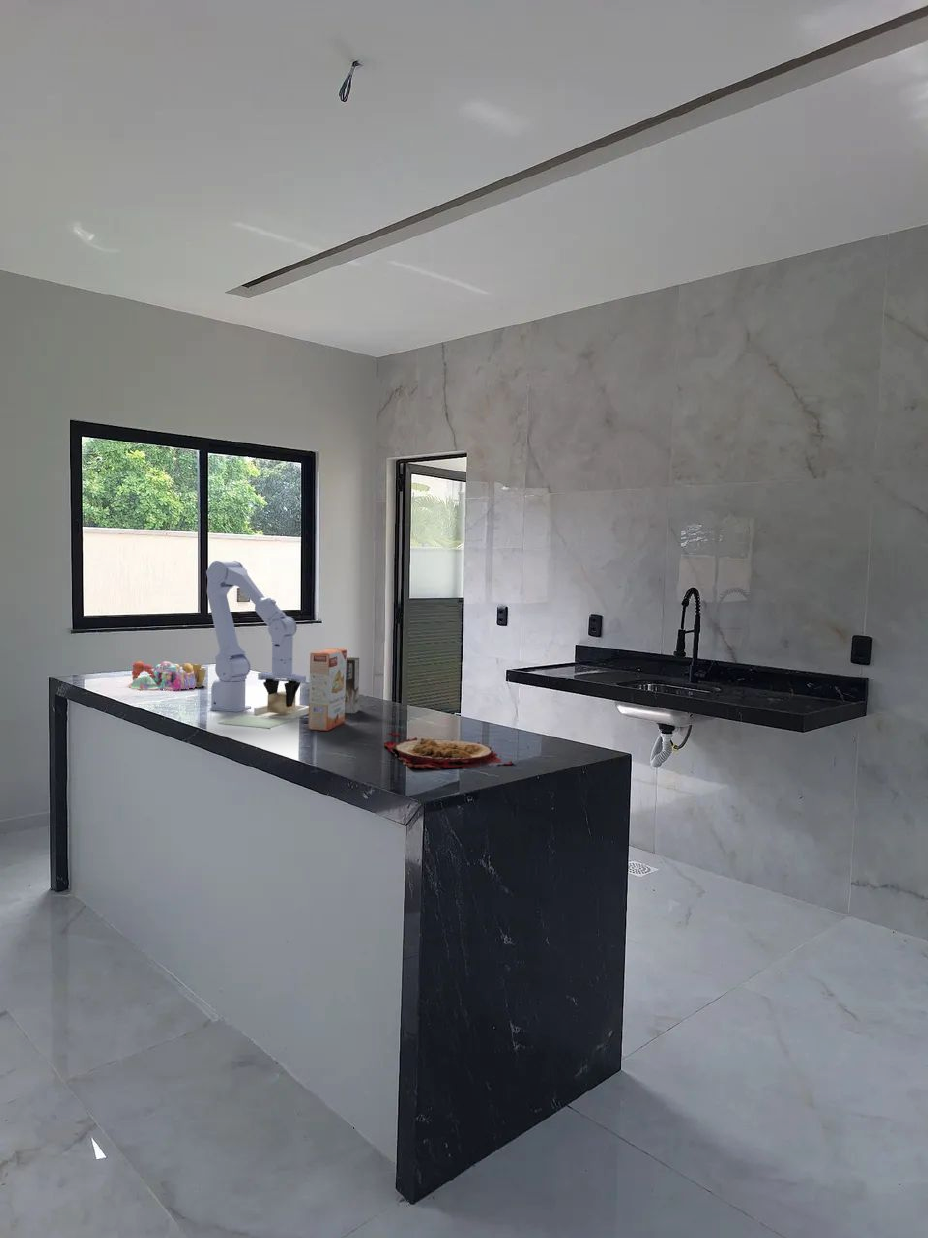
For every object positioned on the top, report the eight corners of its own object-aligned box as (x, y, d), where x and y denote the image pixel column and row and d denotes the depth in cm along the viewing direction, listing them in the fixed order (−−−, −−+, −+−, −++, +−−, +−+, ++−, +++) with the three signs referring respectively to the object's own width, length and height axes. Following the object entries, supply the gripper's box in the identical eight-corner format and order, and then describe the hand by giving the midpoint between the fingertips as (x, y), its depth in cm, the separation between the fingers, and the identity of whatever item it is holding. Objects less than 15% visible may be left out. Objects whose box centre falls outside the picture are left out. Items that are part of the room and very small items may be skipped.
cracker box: (328, 732, 231) (330, 653, 230) (307, 730, 232) (308, 652, 231) (346, 722, 245) (347, 648, 244) (326, 721, 246) (327, 647, 245)
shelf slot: (253, 715, 252) (253, 708, 252) (272, 709, 262) (272, 703, 262) (293, 719, 248) (293, 712, 248) (312, 713, 258) (312, 706, 258)
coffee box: (359, 710, 265) (360, 657, 264) (354, 714, 259) (355, 659, 258) (329, 709, 266) (330, 656, 265) (324, 712, 260) (325, 658, 259)
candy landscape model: (189, 680, 320) (189, 655, 319) (216, 689, 302) (217, 662, 301) (119, 685, 304) (119, 659, 303) (144, 694, 286) (144, 666, 285)
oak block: (267, 712, 251) (267, 695, 251) (281, 708, 259) (281, 691, 259) (281, 713, 250) (281, 696, 250) (295, 709, 257) (295, 692, 257)
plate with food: (411, 775, 191) (412, 759, 191) (381, 746, 216) (382, 732, 216) (515, 770, 199) (516, 755, 199) (475, 743, 224) (475, 730, 224)
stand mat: (217, 724, 238) (217, 722, 238) (242, 716, 249) (242, 715, 249) (269, 729, 233) (269, 728, 233) (292, 721, 244) (292, 720, 244)
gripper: (252, 659, 252) (252, 705, 253) (297, 662, 247) (296, 710, 248) (265, 656, 259) (265, 702, 259) (309, 659, 254) (308, 706, 255)
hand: (281, 705), depth 254 cm, fingers closed on oak block, 4 cm apart
